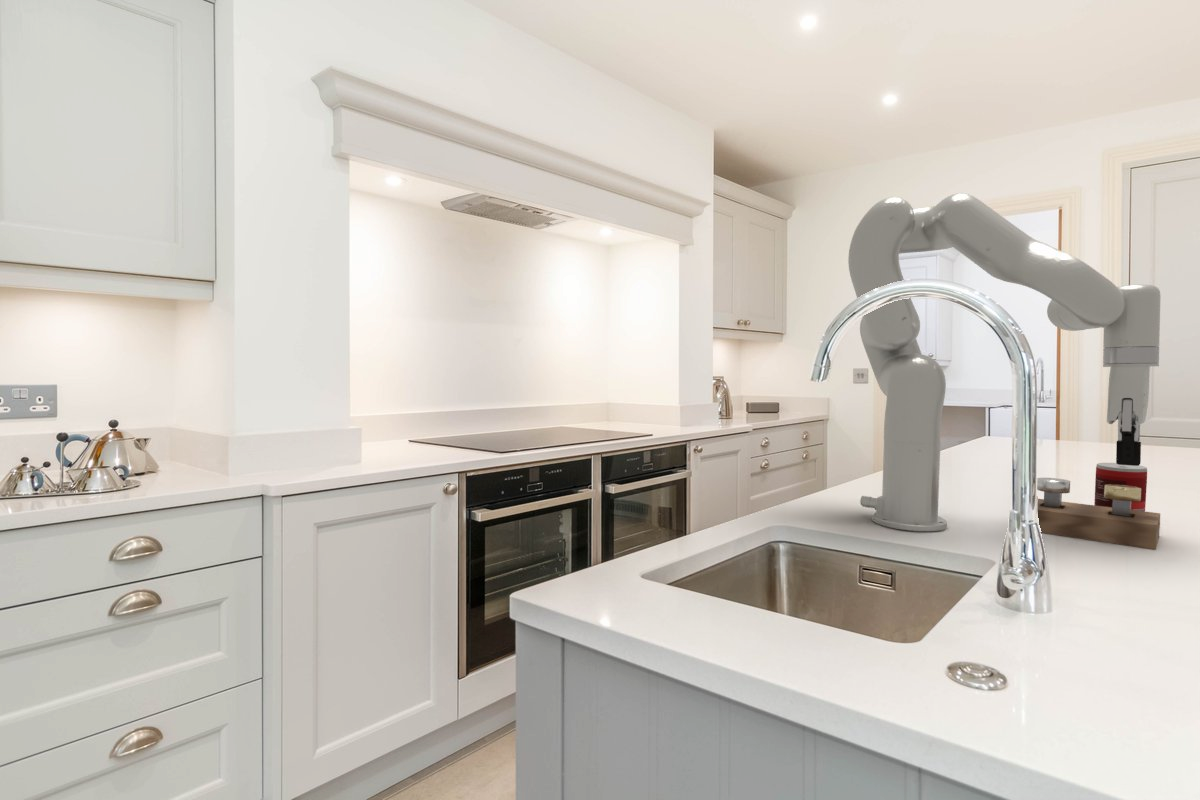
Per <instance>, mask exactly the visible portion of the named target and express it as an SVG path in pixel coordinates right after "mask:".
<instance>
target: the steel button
mask: <svg viewBox="0 0 1200 800" xmlns="http://www.w3.org/2000/svg"><path fill="white" fill-rule="evenodd" d="M1036 490H1037V491H1040V492H1043V499H1044V507H1052V508H1060V509H1061V503H1062V502H1063V501H1062V500H1063V498H1062V496H1063V494H1070V492H1071V481H1070V480H1068V479H1064V478H1063V479H1062V478H1057V477H1038V478H1037V480H1036Z"/></svg>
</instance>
